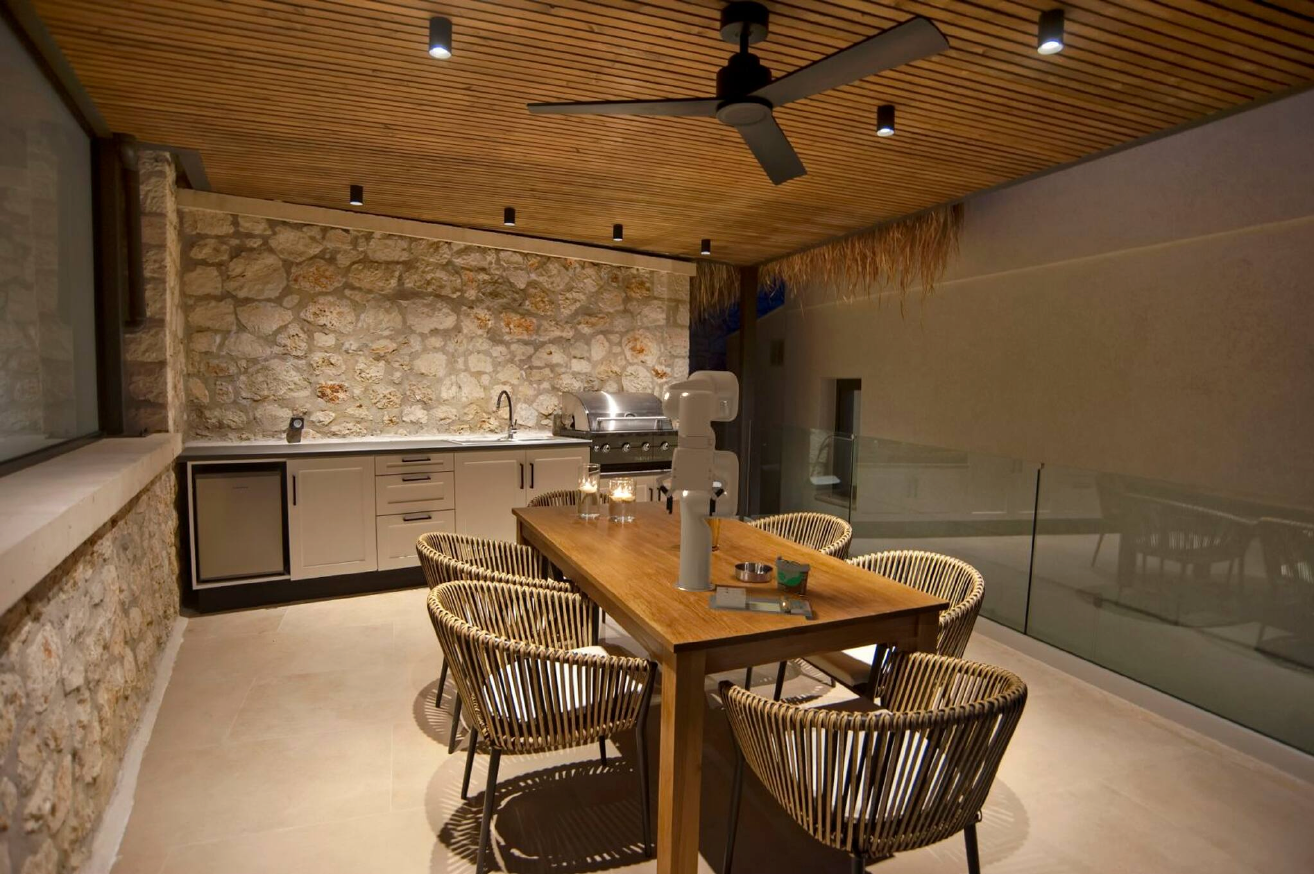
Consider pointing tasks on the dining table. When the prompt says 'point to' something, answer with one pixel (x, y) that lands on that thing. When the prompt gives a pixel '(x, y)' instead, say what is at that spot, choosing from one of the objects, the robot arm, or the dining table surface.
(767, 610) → the board
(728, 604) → the tan studded block
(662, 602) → the dining table surface
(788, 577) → the food container
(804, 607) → the fixed leaf
